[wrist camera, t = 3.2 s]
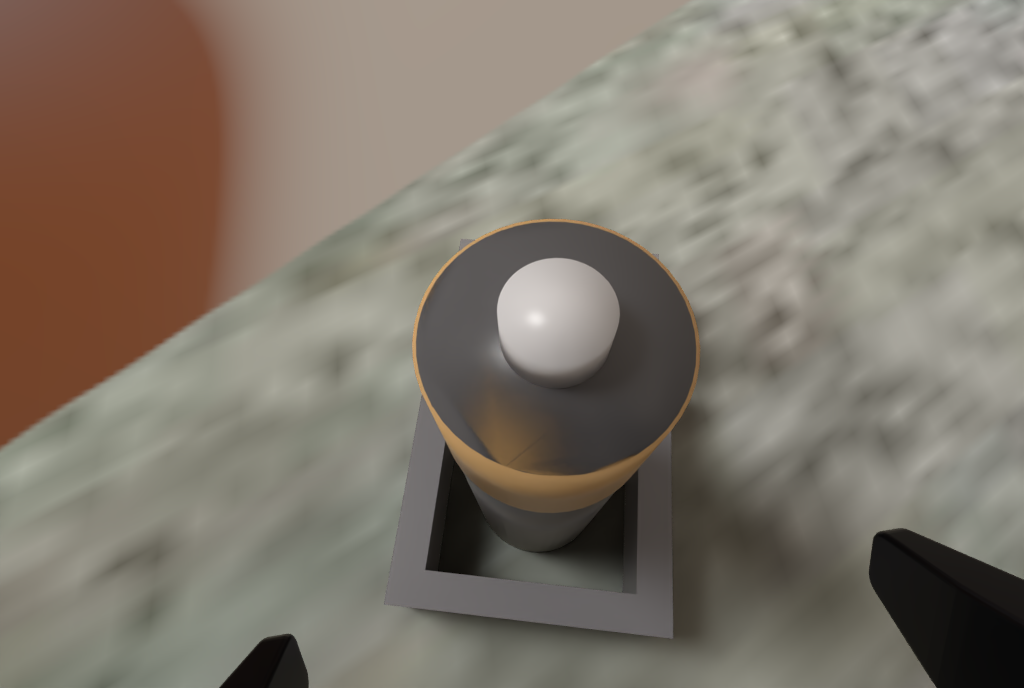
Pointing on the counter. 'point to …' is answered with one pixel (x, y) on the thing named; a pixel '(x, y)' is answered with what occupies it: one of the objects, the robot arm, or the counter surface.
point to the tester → (628, 612)
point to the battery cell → (553, 370)
